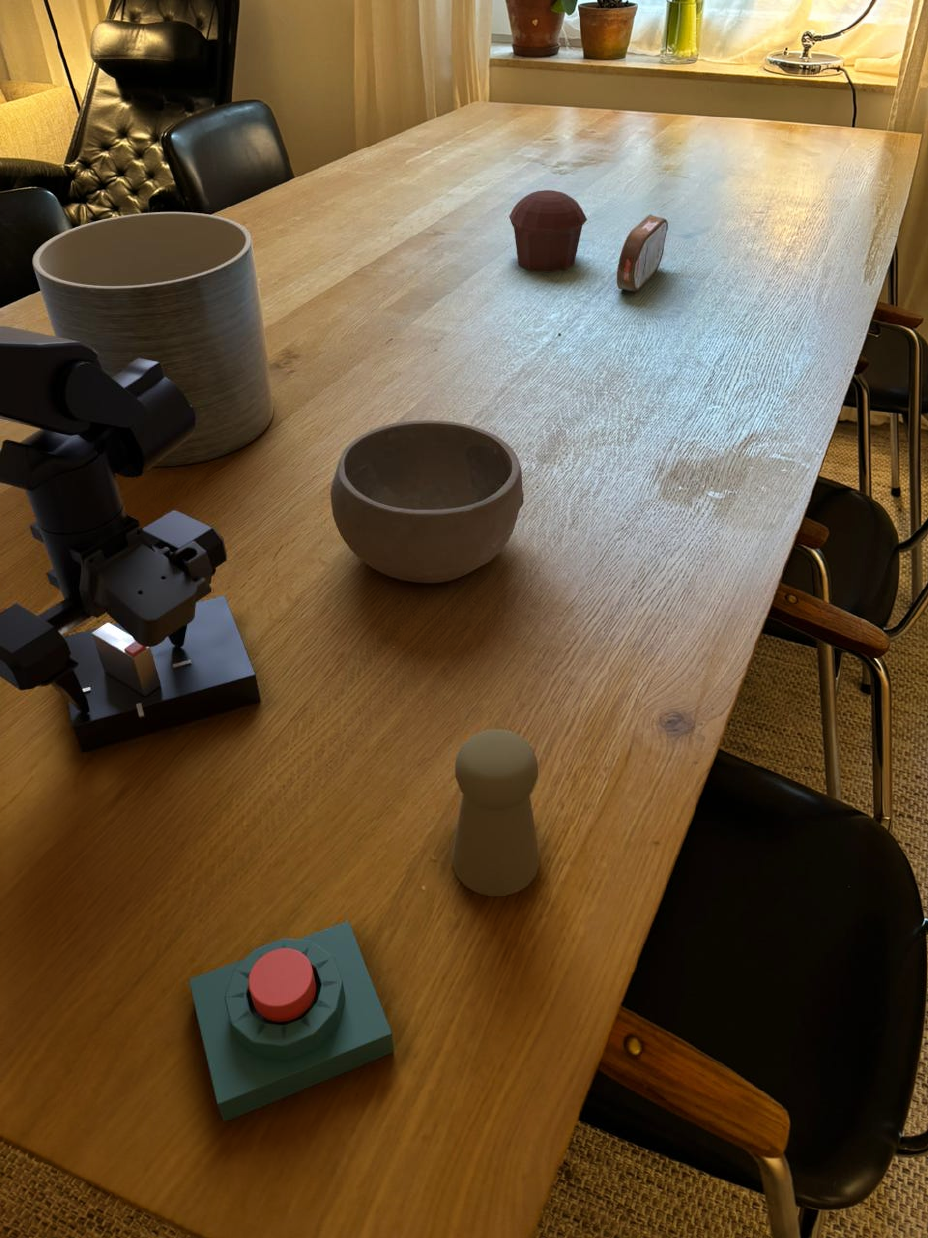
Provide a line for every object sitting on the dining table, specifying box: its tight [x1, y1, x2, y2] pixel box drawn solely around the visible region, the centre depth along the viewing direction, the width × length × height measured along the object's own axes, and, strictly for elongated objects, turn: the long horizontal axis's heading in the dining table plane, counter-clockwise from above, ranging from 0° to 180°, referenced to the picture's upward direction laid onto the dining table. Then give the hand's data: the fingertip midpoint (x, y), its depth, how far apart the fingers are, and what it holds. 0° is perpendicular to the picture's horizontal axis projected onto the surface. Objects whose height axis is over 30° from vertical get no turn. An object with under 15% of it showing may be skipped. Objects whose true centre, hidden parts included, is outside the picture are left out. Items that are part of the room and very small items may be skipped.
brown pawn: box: [451, 728, 541, 897], centre depth 64 cm, size 6×6×11 cm
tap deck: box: [64, 595, 262, 754], centre depth 80 cm, size 14×12×3 cm
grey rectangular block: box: [91, 622, 161, 696], centre depth 76 cm, size 5×2×4 cm, turn 54°
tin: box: [616, 214, 669, 292], centre depth 143 cm, size 15×3×8 cm, turn 153°
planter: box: [32, 211, 274, 467], centre depth 109 cm, size 22×22×20 cm
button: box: [248, 948, 316, 1022], centre depth 56 cm, size 4×4×2 cm
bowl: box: [330, 419, 525, 584], centre depth 92 cm, size 17×18×10 cm
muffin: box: [508, 189, 588, 273], centre depth 149 cm, size 12×11×10 cm
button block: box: [188, 920, 395, 1123], centre depth 58 cm, size 10×8×4 cm
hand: (132, 677), depth 78 cm, fingers open, 9 cm apart
